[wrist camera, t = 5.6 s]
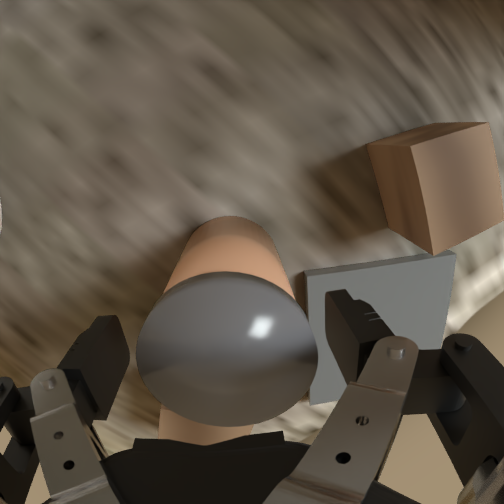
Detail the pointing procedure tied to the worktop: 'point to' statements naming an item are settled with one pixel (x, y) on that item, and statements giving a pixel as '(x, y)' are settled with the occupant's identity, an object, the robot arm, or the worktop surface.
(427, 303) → the coaster
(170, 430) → the block
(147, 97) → the worktop surface
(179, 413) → the tan jar
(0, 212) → the cylindrical container
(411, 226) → the block
